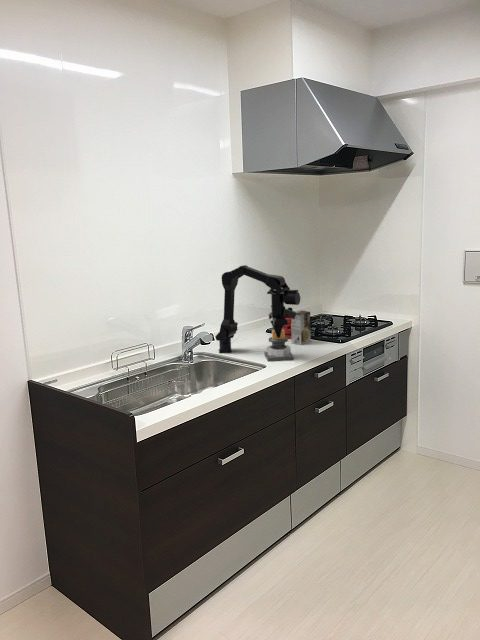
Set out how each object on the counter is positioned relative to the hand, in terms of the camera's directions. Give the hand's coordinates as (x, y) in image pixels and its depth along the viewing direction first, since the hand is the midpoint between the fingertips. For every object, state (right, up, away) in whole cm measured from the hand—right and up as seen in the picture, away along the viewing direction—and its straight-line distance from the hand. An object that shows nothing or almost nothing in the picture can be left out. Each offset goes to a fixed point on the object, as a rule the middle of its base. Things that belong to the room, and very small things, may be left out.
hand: (278, 336), depth 252 cm
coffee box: (+14, -4, +30) cm, 33 cm away
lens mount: (0, -10, +2) cm, 10 cm away
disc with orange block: (0, -4, +1) cm, 4 cm away
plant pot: (+11, -2, +43) cm, 44 cm away
